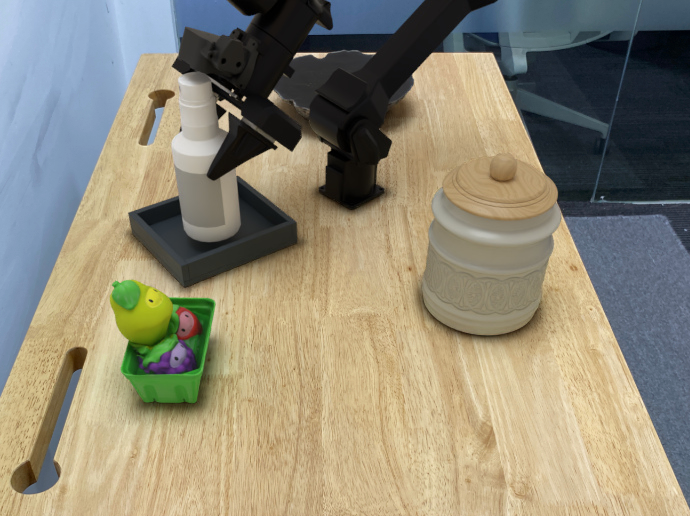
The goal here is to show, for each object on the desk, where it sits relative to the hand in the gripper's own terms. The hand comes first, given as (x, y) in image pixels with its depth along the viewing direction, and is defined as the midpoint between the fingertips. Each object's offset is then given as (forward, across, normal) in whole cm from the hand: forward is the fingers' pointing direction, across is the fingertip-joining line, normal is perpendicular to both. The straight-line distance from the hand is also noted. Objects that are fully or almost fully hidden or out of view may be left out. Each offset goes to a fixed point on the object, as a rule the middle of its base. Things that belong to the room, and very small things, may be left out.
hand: (193, 165), depth 86 cm
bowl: (-18, -21, +32) cm, 42 cm away
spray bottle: (+5, 0, +7) cm, 9 cm away
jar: (-6, +27, +22) cm, 35 cm away
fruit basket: (+17, +17, -2) cm, 25 cm away
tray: (+6, -1, +9) cm, 11 cm away
